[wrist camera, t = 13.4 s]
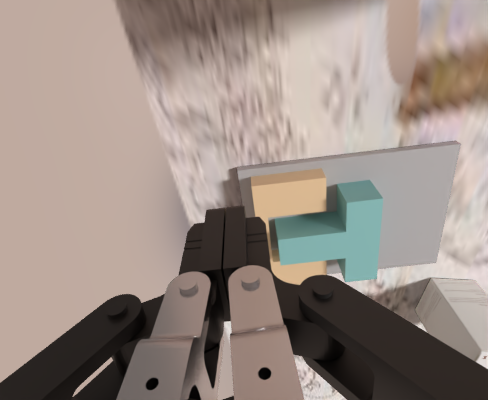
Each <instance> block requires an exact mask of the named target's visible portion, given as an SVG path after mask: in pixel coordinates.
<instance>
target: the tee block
mask: <svg viewBox="0 0 488 400" xmlns="http://www.w3.org/2000/svg"><path fill="white" fill-rule="evenodd" d="M382 209H383V197H382V196H381V194H380V193H379V192H378V190H377V189H376V188H375V186H374V185H373V183H372V182H371V181H370V180H364V181H356V182H348V183H340V184H337V211H335V212H327V213H318V214H310V215H301V216H293V217H285V218H276V219H275V228H276V238H277V246H278V252H279V258H280V264H281V265H290V264H299V263H308V262H316V261H325V260H334V259H337V262H338V264H339V267H340V270H341V272H342V275H343V278H344V280H345V282H351V281H360V280H369V279H377V268H378V256H379V245H380V233H381V221H382Z"/></svg>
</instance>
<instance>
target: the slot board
mask: <svg viewBox="0 0 488 400" xmlns="http://www.w3.org/2000/svg"><path fill="white" fill-rule="evenodd" d="M460 145H461V144H460V143H459V142H457V141H450V142H442V143H433V144H425V145H417V146H408V147H400V148H392V149H383V150H375V151H367V152H358V153H350V154H342V155H334V156H325V157H317V158H309V159H300V160H292V161H284V162H275V163H267V164H259V165H250V166H242V167H237V172H238V179H239V186H240V193H241V199H242V206H244V205H245V209H246V216H247V218H250V217H260V218H261V219H262V220H263V221H264V222H265V223H266V230H267V238H268V246H269V254H270V262H271V269H272V272H273V273H274V275H275V276H276V277H277V278H279V279H280V280H282V281H284V282H287V283H291V284H297V285H300V284H301V283H302V282H303V281H304V280H305V279H307V278H308V277H311V276H314V275H327V274H334V273H342V272H341V270H340V267H339V264H338V262H337V259H334V260H325V261H316V262H308V263H299V264H290V265H281V264H280V258H279V252H278V246H277V238H276V228H275V219H276V218H285V217H293V216H301V215H310V214H318V213H327V212H335V211H337V184H340V183H348V182H356V181H364V180H370V181H371V182H372V183H373V185H374V186H375V188H376V189H377V190H378V192H379V193H380V194H381V196H382V197H383V209H382V221H381V233H380V245H379V256H378V268H377V269H382V268H392V267H401V266H411V265H420V264H430V263H436V261H437V256H438V252H439V247H440V242H441V237H442V232H443V227H444V222H445V218H446V213H447V208H448V203H449V198H450V193H451V189H452V184H453V179H454V174H455V169H456V164H457V160H458V155H459V150H460Z"/></svg>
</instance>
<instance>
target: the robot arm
mask: <svg viewBox="0 0 488 400" xmlns="http://www.w3.org/2000/svg"><path fill="white" fill-rule="evenodd" d="M225 321H231V328H232V333H231V334H230V345H231V359H232V373H233V389H234V396H232V397H229V398H226V399H223V400H304V397H303V393H302V389H301V384H300V380H299V376H298V372H297V368H296V364H295V360H294V356H293V354H294V355H299V356H303V358H304V360H305V362H306V363H307V364H308V365H309V366H310V367H311V368H312V369H313V370H314V371H315V372H316V373H318V374H319V375H320V376H321V377H322V378H323V379H324V380H326V381H327V382H328V383H329V384H330V385H331V386H332V387H333V388H335V389H336V390H337V391H338V392H339V393H340V394H341V395H343V396H344V397H345V398H346V399H347V400H488V369H487V368H485V367H483V366H482V365H480V364H478V363H477V362H475V361H473V360H472V359H470V358H468V357H467V356H465V355H463V354H462V353H460V352H458V351H457V350H455V349H453V348H452V347H450V346H448V345H447V344H445V343H443V342H442V341H440V340H439V339H437V338H435V337H434V336H432V335H430V334H429V333H427V332H425V331H424V330H422V329H420V328H419V327H417V326H415V325H414V324H412V323H410V322H409V321H407V320H405V319H404V318H402V317H400V316H399V315H397V314H395V313H394V312H392V311H390V310H389V309H387V308H385V307H384V306H382V305H380V304H379V303H377V302H375V301H374V300H372V299H370V298H369V297H367V296H365V295H364V294H362V293H360V292H359V291H357V290H355V289H354V288H352V287H350V286H349V285H347V284H345V283H344V282H342V281H340V280H339V279H337V278H335V277H332V276H328V275H314V276H311V277H308V278H307V279H305V280H304V281H303V282H302V283H301V284H300V285H297V284H291V283H287V282H284V281H282V280H280V279H279V278H277V277H276V276H275V275H274V273H273V272H272V269H271V262H270V254H269V246H268V238H267V230H266V223H265V222H264V221H263V220H262V219H261V218H260V217H250V218H247V216H246V209H245V205H244V206H235V207H227V208H226V209H225V208H218V209H209V210H206V216H205V223H197V224H194V225H193V226H192V228H191V229H190V230H189V231H188V233H187V238H186V243H185V247H184V252H183V257H182V262H181V266H180V271H179V276H177V277H176V278H174V279H173V280H172V281H171V282H170V284H169V285H168V287H167V290H166V293H165V294H163V295H162V296H160V297H157V298H154V299H152V300H149V301H146V302H143V303H141V301H140V299H139V298H138V297H136V296H134V295H131V294H124V295H119V296H115V297H113V298H111V299H109V300H107V301H106V302H105V303H103V304H102V305H101V306H99V307H98V308H97V309H96V310H94V311H93V312H92V313H90V314H89V315H88V316H86V317H85V318H84V319H83V320H81V321H80V322H79V323H77V324H76V325H75V326H73V327H72V328H71V329H70V330H69V331H67V332H66V333H64V334H63V335H62V336H61V337H59V338H58V339H57V340H55V341H54V342H53V343H52V344H50V345H49V346H48V347H46V348H45V349H44V350H42V351H41V352H40V353H38V354H37V355H36V356H35V357H33V358H32V359H31V360H29V361H28V362H27V363H26V364H24V365H23V366H22V367H20V368H19V369H18V370H16V371H15V372H14V373H13V374H11V375H10V376H9V377H7V378H6V379H5V380H3V381H2V382H1V383H0V400H217V398H218V387H219V379H220V371H221V363H222V355H223V346H224V339H223V329H224V322H225ZM110 357H112V359H113V362H111V363H110V364H109V365H108V366H107V367H106V368H105V369H104V370H103V371H102V372H101V373H99V375H98V376H96V377H95V378H94V379H93V380H92V381H91V382H90V383H88V384H87V385H86V386H85V387H84V388H83V389H82V390H81V391H80V392H79V393H78V394H76V395H75V396H74V397H72V396H73V394H74V392H75V390H76V389H77V388H78V387H79V386H80V385H81V384H82V383H83V382H84V381H85V380H86V379H87V378H88V377H89V376H90V375H92V374H93V373H94V372H95V371H96V370H97V369H98V368H99V367H100V366H101V365H103V364H104V363H105V362H106V361H107V360H108V359H109V358H110Z"/></svg>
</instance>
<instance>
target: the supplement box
mask: <svg viewBox="0 0 488 400" xmlns="http://www.w3.org/2000/svg"><path fill="white" fill-rule="evenodd" d="M415 312H416V313H417V315H418V317H419V318H420V320H421V322H422V324H423V325H424V327H425V329H426V331H427V332H428V333H429V334H430V335H432V336H434V337H435V338H437V339H439V340H440V341H442V342H443V343H445V344H447V345H448V346H450V347H452V348H453V349H455V350H457V351H458V352H460V353H462V354H463V355H465V356H467V357H468V358H470V359H472V360H473V361H475V362H477V363H478V364H480V365H482V366H483V367H485V368H487V369H488V295H487V293H486V292H485V291H484V290H483V289H482V288H481V286H480V285H479V284H478V283H477V282H476V281H475V280H459V279H440V278H431V279H430V281H429V283H428V285H427V287H426V289H425V291H424V293H423V295H422V297H421V299H420V301H419V303H418V305H417V307H416V310H415Z"/></svg>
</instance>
